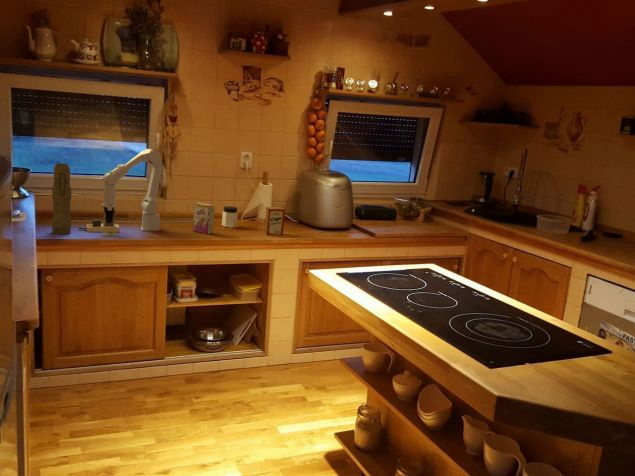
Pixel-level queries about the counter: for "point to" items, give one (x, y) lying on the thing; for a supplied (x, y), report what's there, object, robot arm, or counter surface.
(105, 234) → the mat
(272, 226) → the baking soda box
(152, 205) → the robot arm
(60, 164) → the carved stone statue
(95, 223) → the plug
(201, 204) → the candy bar box
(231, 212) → the jar
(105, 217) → the block
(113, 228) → the power strip
